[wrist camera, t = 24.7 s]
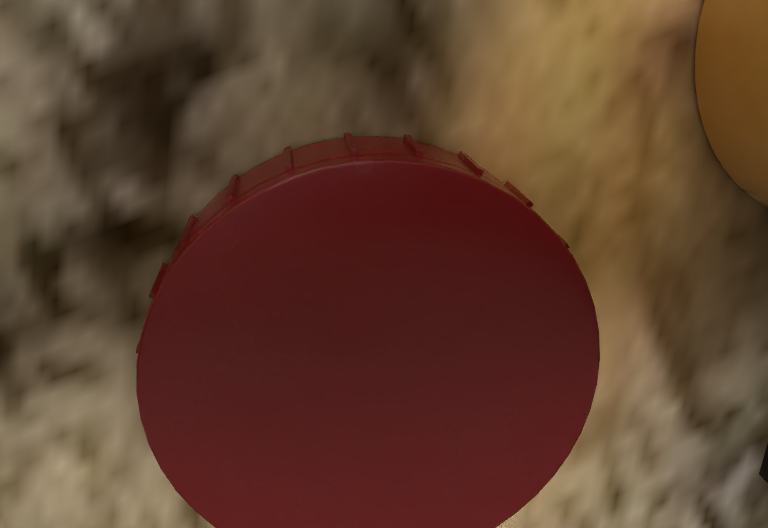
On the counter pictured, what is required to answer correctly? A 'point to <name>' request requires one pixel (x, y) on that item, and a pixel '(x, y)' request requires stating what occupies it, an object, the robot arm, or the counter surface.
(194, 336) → the jam lid
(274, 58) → the counter surface
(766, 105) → the jam jar
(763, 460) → the robot arm
